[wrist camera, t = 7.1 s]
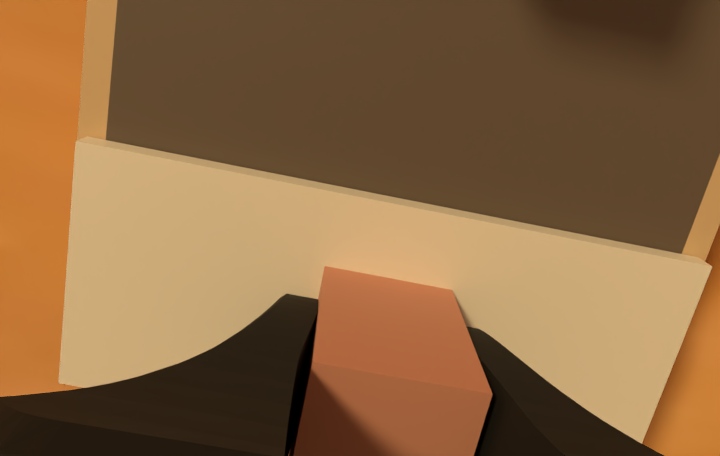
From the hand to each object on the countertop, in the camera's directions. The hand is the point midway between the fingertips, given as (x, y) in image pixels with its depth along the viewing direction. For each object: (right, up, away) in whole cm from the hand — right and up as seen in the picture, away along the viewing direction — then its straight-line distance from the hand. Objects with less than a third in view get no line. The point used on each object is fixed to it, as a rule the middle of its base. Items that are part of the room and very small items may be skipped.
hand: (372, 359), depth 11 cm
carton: (+1, +5, +4) cm, 6 cm away
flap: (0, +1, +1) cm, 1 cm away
